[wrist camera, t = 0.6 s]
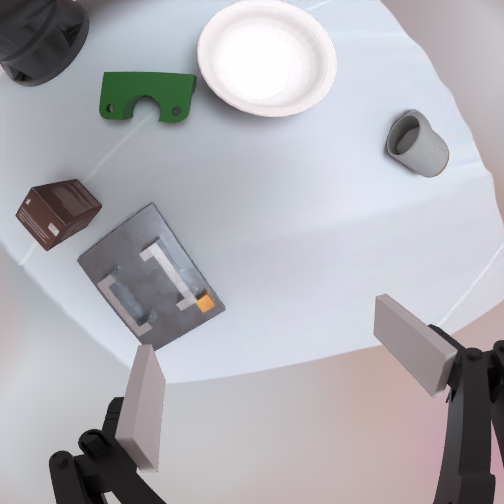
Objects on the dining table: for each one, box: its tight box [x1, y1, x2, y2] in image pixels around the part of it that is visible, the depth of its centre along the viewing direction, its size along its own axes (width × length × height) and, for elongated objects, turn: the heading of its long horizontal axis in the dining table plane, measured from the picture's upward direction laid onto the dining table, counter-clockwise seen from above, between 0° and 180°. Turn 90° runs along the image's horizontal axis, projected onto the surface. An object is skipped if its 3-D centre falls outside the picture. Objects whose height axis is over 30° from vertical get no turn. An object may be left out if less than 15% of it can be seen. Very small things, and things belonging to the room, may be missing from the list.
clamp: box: [99, 72, 197, 123], centre depth 31 cm, size 12×6×9 cm, turn 75°
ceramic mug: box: [387, 109, 449, 178], centre depth 37 cm, size 11×8×8 cm
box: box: [16, 179, 102, 251], centre depth 30 cm, size 6×4×12 cm
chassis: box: [77, 203, 225, 351], centre depth 38 cm, size 18×14×4 cm
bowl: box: [197, 0, 337, 117], centre depth 31 cm, size 16×16×8 cm
